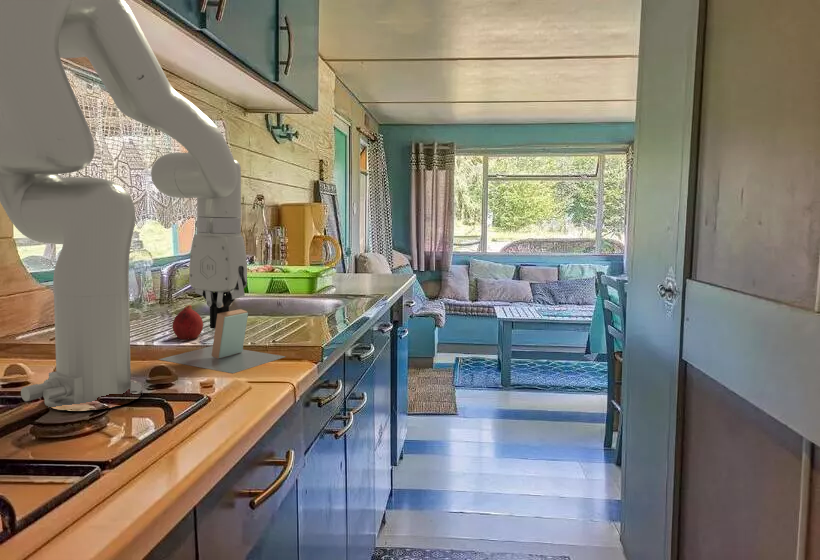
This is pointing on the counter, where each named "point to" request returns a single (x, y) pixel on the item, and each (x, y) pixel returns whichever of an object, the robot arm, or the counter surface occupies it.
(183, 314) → the onion
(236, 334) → the tile
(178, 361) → the slate board
